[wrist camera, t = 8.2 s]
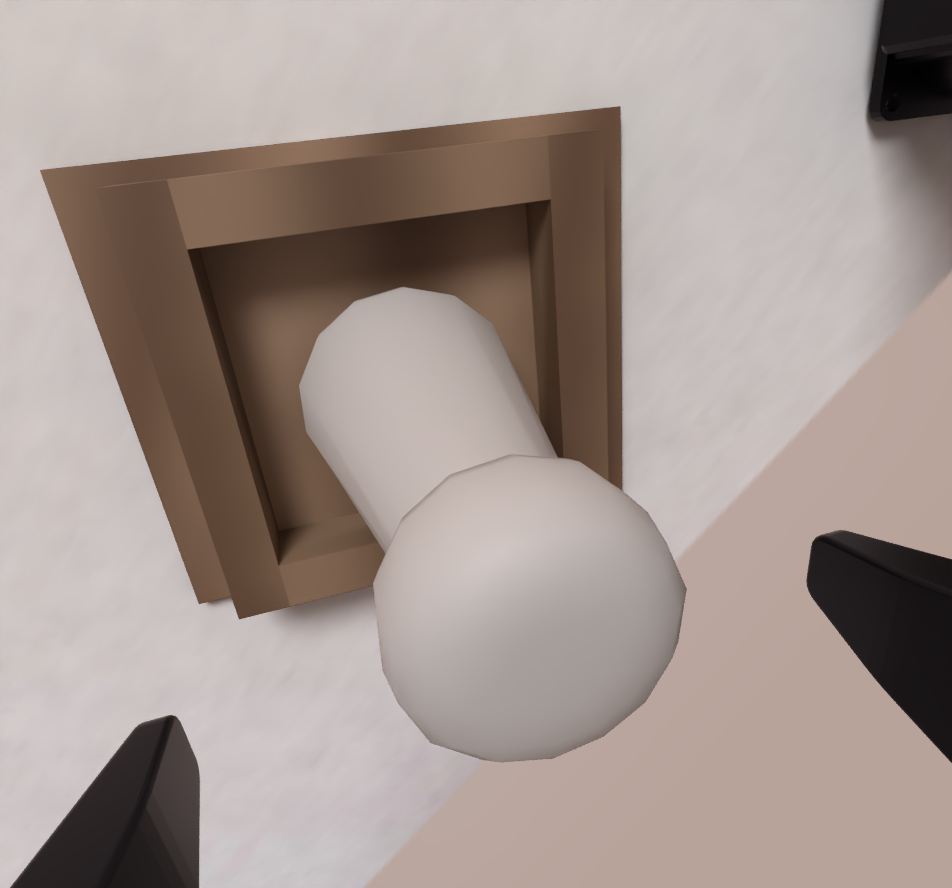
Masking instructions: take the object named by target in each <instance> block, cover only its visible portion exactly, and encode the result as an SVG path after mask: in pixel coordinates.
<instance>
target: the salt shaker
mask: <svg viewBox="0 0 952 888" xmlns="http://www.w3.org/2000/svg"><path fill="white" fill-rule="evenodd" d="M299 389H300V395H301V402H302V408H303V415H304V421H305V428H306V433H307V434H308V436H309V437H310V438H311V440H312V441H313V443H314V444H315V446H316V447H317V449H318V450H319V452H320V453H321V455H322V456H323V457H324V459H325V460H326V462H327V463H328V465H329V466H330V468H331V469H332V471H333V472H334V474H335V475H336V477H337V478H338V480H339V482H340V483H341V485H342V486H343V488H344V489H345V491H346V493H347V494H348V496H349V497H350V499H351V500H352V502H353V504H354V505H355V507H356V508H357V510H358V511H359V513H360V515H361V516H362V518H363V519H364V521H365V522H366V524H367V526H368V527H369V529H370V530H371V532H372V533H373V535H374V537H375V538H376V540H377V541H378V543H379V544H380V546H381V547H382V549H383V551H384V552H385V556H384V558H383V561H382V563H381V565H380V567H379V569H378V572H377V575H376V577H375V580H374V583H373V588H374V598H375V607H376V617H377V625H378V634H379V643H380V652H381V660H382V669H383V672H384V674H385V676H386V679H387V681H388V683H389V685H390V687H391V689H392V691H393V693H394V696H395V698H396V700H397V702H398V704H399V705H400V706H401V707H402V709H403V710H404V711H405V712H406V713H407V715H408V716H409V717H410V718H411V720H412V721H413V722H414V723H415V724H416V726H417V727H418V728H419V729H420V730H421V732H422V733H423V734H424V735H425V737H426V738H427V739H428V740H429V741H430V743H432V744H435V745H439V746H442V747H445V748H448V749H451V750H454V751H457V752H460V753H463V754H467V755H470V756H473V757H476V758H479V759H482V760H488V761H496V762H510V761H525V760H538V759H552V758H555V757H557V756H560V755H562V754H564V753H566V752H569V751H571V750H573V749H576V748H578V747H580V746H582V745H585V744H587V743H590V742H592V741H594V740H597V739H599V738H601V737H603V736H605V735H606V734H607V733H608V732H609V731H611V730H612V729H613V728H614V727H615V726H617V725H618V724H619V723H620V722H622V721H623V720H624V719H625V718H627V717H628V716H629V715H630V714H631V713H633V712H634V711H635V710H636V709H638V708H639V707H640V706H641V705H642V704H644V703H645V702H646V700H647V699H648V697H649V695H650V694H651V692H652V691H653V689H654V687H655V685H656V684H657V682H658V680H659V679H660V677H661V676H662V674H663V672H664V670H665V669H666V667H667V666H668V664H669V663H670V661H671V659H672V657H673V654H674V652H675V649H676V646H677V643H678V639H679V633H680V627H681V620H682V614H683V607H684V602H685V595H686V587H685V584H684V582H683V580H682V577H681V575H680V573H679V570H678V568H677V566H676V564H675V561H674V559H673V557H672V554H671V552H670V550H669V548H668V545H667V543H666V541H665V540H664V538H663V536H662V535H661V533H660V531H659V530H658V528H657V527H656V525H655V523H654V522H653V520H652V518H651V517H650V515H649V514H648V512H647V511H646V510H644V509H643V508H642V507H641V506H640V505H639V504H637V503H636V502H635V501H634V500H633V499H632V498H630V497H629V496H628V495H627V494H626V493H625V492H623V491H622V490H620V489H619V488H617V487H616V486H614V485H613V484H612V483H610V482H609V481H607V480H606V479H604V478H603V477H601V476H600V475H598V474H597V473H595V472H594V471H593V470H591V469H590V468H588V467H587V466H585V465H584V464H582V463H581V462H579V461H575V460H571V459H567V458H558V457H557V455H556V453H555V451H554V449H553V446H552V444H551V442H550V440H549V438H548V436H547V434H546V432H545V430H544V428H543V426H542V424H541V422H540V420H539V417H538V415H537V413H536V411H535V409H534V407H533V405H532V403H531V401H530V399H529V397H528V395H527V393H526V391H525V388H524V386H523V384H522V382H521V380H520V378H519V376H518V374H517V372H516V370H515V368H514V366H513V364H512V362H511V360H510V358H509V356H508V354H507V352H506V350H505V348H504V346H503V343H502V341H501V339H500V337H499V335H498V333H497V331H496V329H495V327H494V325H493V324H492V323H491V322H489V321H488V320H487V319H485V318H484V317H483V316H481V315H480V314H479V313H477V312H476V311H475V310H473V309H472V308H471V307H469V306H468V305H467V304H465V303H464V302H463V301H461V300H460V299H458V298H457V297H456V296H453V295H449V294H443V293H437V292H431V291H425V290H419V289H413V288H407V287H400V288H396V289H393V290H390V291H386V292H383V293H380V294H376V295H373V296H370V297H366V298H363V299H360V300H356V301H354V302H353V303H352V304H351V305H350V306H349V307H348V308H347V309H345V310H344V311H343V312H342V313H341V314H340V315H339V316H338V317H337V318H336V319H335V320H334V321H333V322H332V323H331V324H330V325H329V326H327V327H326V328H325V329H324V330H323V331H322V332H321V333H320V334H319V336H318V338H317V340H316V343H315V345H314V348H313V350H312V353H311V356H310V358H309V361H308V364H307V366H306V369H305V371H304V374H303V377H302V379H301V382H300V384H299Z"/></svg>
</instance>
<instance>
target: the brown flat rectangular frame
mask: <svg viewBox="0 0 952 888" xmlns="http://www.w3.org/2000/svg"><path fill="white" fill-rule="evenodd" d="M40 172H41V174H42V177H43V180H44V182H45V185H46V188H47V191H48V193H49V196H50V199H51V202H52V204H53V207H54V210H55V212H56V215H57V218H58V221H59V223H60V226H61V229H62V232H63V234H64V237H65V240H66V242H67V245H68V248H69V251H70V253H71V256H72V259H73V262H74V264H75V267H76V270H77V272H78V275H79V278H80V281H81V283H82V286H83V289H84V292H85V294H86V297H87V300H88V303H89V305H90V308H91V311H92V313H93V316H94V319H95V322H96V324H97V327H98V330H99V333H100V335H101V338H102V341H103V343H104V346H105V349H106V352H107V354H108V357H109V360H110V363H111V365H112V368H113V371H114V373H115V376H116V379H117V382H118V384H119V387H120V390H121V393H122V395H123V398H124V401H125V403H126V406H127V409H128V412H129V414H130V417H131V420H132V423H133V425H134V428H135V431H136V433H137V436H138V439H139V442H140V444H141V447H142V450H143V453H144V455H145V458H146V461H147V463H148V466H149V469H150V472H151V474H152V477H153V480H154V483H155V485H156V488H157V491H158V493H159V496H160V499H161V502H162V504H163V507H164V510H165V513H166V515H167V518H168V521H169V523H170V526H171V529H172V532H173V534H174V537H175V540H176V543H177V545H178V548H179V551H180V553H181V556H182V559H183V562H184V564H185V567H186V570H187V573H188V575H189V578H190V581H191V584H192V586H193V589H194V592H195V594H196V597H197V600H198V603H199V604H202V603H206V602H210V601H214V600H218V599H222V598H226V597H230V596H231V597H232V600H233V603H234V606H235V609H236V612H237V615H238V618H239V619H242V618H246V617H250V616H254V615H258V614H262V613H266V612H270V611H274V610H278V609H282V608H286V607H290V606H294V605H298V604H302V603H306V602H310V601H314V600H318V599H322V598H326V597H330V596H334V595H338V594H342V593H346V592H350V591H354V590H358V589H362V588H366V587H370V586H373V583H374V580H375V577H376V575H377V572H378V569H379V567H380V565H381V563H382V561H383V558H384V556H385V552H384V551H383V549H382V547H381V546H380V544H379V543H378V541H377V540H376V538H375V537H374V535H373V533H372V532H371V530H370V529H369V527H368V526H367V524H366V522H365V521H364V519H363V518H362V516H361V515H360V513H359V511H358V510H357V508H356V507H355V505H354V504H353V502H352V500H351V499H350V497H349V496H348V494H347V493H346V491H345V489H344V488H343V486H342V485H341V483H340V482H339V480H338V478H337V477H336V475H335V474H334V472H333V471H332V469H331V468H330V466H329V465H328V463H327V462H326V460H325V459H324V457H323V456H322V455H321V453H320V452H319V450H318V449H317V447H316V446H315V444H314V443H313V441H312V440H311V438H310V437H309V436H308V434H307V433H306V428H305V421H304V415H303V408H302V402H301V395H300V389H299V384H300V382H301V379H302V377H303V374H304V371H305V369H306V366H307V364H308V361H309V358H310V356H311V353H312V350H313V348H314V345H315V343H316V340H317V338H318V336H319V334H320V333H321V332H322V331H323V330H324V329H325V328H326V327H327V326H329V325H330V324H331V323H332V322H333V321H334V320H335V319H336V318H337V317H338V316H339V315H340V314H341V313H342V312H343V311H344V310H345V309H347V308H348V307H349V306H350V305H351V304H352V303H353V302H354V301H356V300H360V299H363V298H366V297H370V296H373V295H376V294H380V293H383V292H386V291H390V290H393V289H396V288H400V287H407V288H413V289H419V290H425V291H431V292H437V293H443V294H449V295H453V296H456V297H457V298H458V299H460V300H461V301H463V302H464V303H465V304H467V305H468V306H469V307H471V308H472V309H473V310H475V311H476V312H477V313H479V314H480V315H481V316H483V317H484V318H485V319H487V320H488V321H489V322H491V323H492V324H493V325H494V327H495V329H496V331H497V333H498V335H499V337H500V339H501V341H502V343H503V346H504V348H505V350H506V352H507V354H508V356H509V358H510V360H511V362H512V364H513V366H514V368H515V370H516V372H517V374H518V376H519V378H520V380H521V382H522V384H523V386H524V388H525V391H526V393H527V395H528V397H529V399H530V401H531V403H532V405H533V407H534V409H535V411H536V413H537V415H538V417H539V420H540V422H541V424H542V426H543V428H544V430H545V432H546V434H547V436H548V438H549V440H550V442H551V444H552V446H553V449H554V451H555V453H556V455H557V457H558V458H567V459H571V460H575V461H579V462H581V463H582V464H584V465H585V466H587V467H588V468H590V469H591V470H593V471H594V472H595V473H597V474H598V475H600V476H601V477H603V478H604V479H606V480H607V481H609V482H610V483H612V484H613V485H614V486H616V487H617V488H619V489H620V490H622V337H621V120H620V107H611V108H602V109H593V110H583V111H574V112H565V113H556V114H547V115H538V116H529V117H520V118H511V119H502V120H492V121H483V122H474V123H465V124H456V125H447V126H438V127H429V128H420V129H411V130H402V131H392V132H383V133H374V134H365V135H356V136H347V137H338V138H329V139H320V140H311V141H301V142H292V143H283V144H274V145H265V146H256V147H247V148H238V149H229V150H220V151H211V152H201V153H192V154H183V155H174V156H165V157H156V158H147V159H138V160H129V161H120V162H110V163H101V164H92V165H83V166H74V167H65V168H56V169H47V170H40Z"/></svg>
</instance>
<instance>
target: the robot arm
mask: <svg viewBox="0 0 952 888" xmlns="http://www.w3.org/2000/svg"><path fill="white" fill-rule="evenodd" d="M888 99H889V100H890V104H889V107H888V109H887V105H886V104H887V101H888ZM950 113H952V0H885V4H884V11H883V17H882V24H881V31H880V38H879V45H878V52H877V59H876V66H875V73H874V80H873V87H872V93H871V100H870V114H871V117H872V118H873V119H874V120H875V121H879V122H882V121H894V120H902V119H910V118H918V117H926V116H934V115H942V114H950ZM807 587H808V590H809V593H810V595H811V596H812V598H813V599H814V601H815V602H816V603H817V605H818V606H819V607H820V609H821V610H822V611H823V612H824V614H825V615H826V616H827V618H828V619H829V620H830V622H831V623H832V624H833V625H834V626H835V628H836V629H837V630H838V632H839V633H840V634H841V636H842V637H843V638H844V640H845V641H846V642H847V644H848V645H849V646H850V647H851V649H852V650H853V651H854V653H855V654H856V655H857V656H858V658H859V659H860V660H861V662H862V663H863V664H864V666H865V667H866V668H867V669H868V671H869V672H870V673H871V674H872V676H873V677H874V678H875V679H876V681H877V682H878V683H879V684H880V685H881V686H882V688H883V689H884V690H885V691H886V692H887V693H888V694H889V695H890V697H891V698H892V699H893V700H894V701H895V702H896V703H897V704H898V705H899V706H900V707H901V709H902V710H903V711H904V712H905V713H906V714H907V715H908V716H909V717H910V718H911V719H912V720H913V722H914V723H915V724H916V725H917V726H918V727H919V728H920V729H921V730H922V731H923V732H924V734H926V736H927V737H928V738H929V739H930V740H931V741H932V742H933V743H934V744H935V745H936V746H937V748H938V749H939V750H940V751H941V752H942V753H943V754H944V755H945V756H946V757H947V758H948V759H949V761H950V762H951V763H952V559H948V558H945V557H941V556H937V555H934V554H930V553H926V552H922V551H918V550H915V549H912V548H907V547H904V546H900V545H897V544H893V543H889V542H886V541H882V540H878V539H874V538H871V537H867V536H864V535H860V534H856V533H853V532H849V531H844V530H838V531H834V532H830V533H826V534H823V535H820V536H818V537H816V538H815V540H814V541H813V542H812V546H811V553H810V560H809V566H808V573H807ZM199 816H200V776H199V768H198V763H197V760H196V757H195V755H194V753H193V750H192V748H191V746H190V743H189V741H188V738H187V736H186V734H185V731H184V729H183V727H182V724H181V722H180V721H179V719H178V718H177V717H176V716H172V715H168V716H165V717H161V718H158V719H154V720H150V721H147V722H143V723H141V724H139V725H138V726H137V727H136V728H135V729H134V730H133V731H132V732H131V734H130V735H129V736H128V738H127V739H126V740H125V741H124V743H123V744H122V745H121V747H120V748H119V749H118V750H117V752H116V753H115V754H114V755H113V757H112V758H111V759H110V761H109V762H108V763H107V764H106V766H105V767H104V768H103V770H102V771H101V772H100V773H99V775H98V776H97V777H96V778H95V780H94V781H93V782H92V784H91V785H90V786H89V787H88V789H87V790H86V791H85V793H84V794H83V795H82V796H81V798H80V799H79V800H78V802H77V803H76V804H75V805H74V807H73V808H72V809H71V810H70V812H69V813H68V814H67V816H66V817H65V818H64V819H63V821H62V822H61V823H60V825H59V826H58V827H57V828H56V830H55V831H54V832H53V833H52V835H51V836H50V837H49V839H48V840H47V841H46V842H45V844H44V845H43V846H42V848H41V849H40V850H39V851H38V853H37V854H36V855H35V856H34V858H33V859H32V860H31V862H30V863H29V864H28V865H27V867H26V868H25V869H24V871H23V872H22V873H21V874H20V876H19V877H18V878H17V879H16V881H15V882H14V883H13V885H12V886H11V887H10V888H199Z"/></svg>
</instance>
